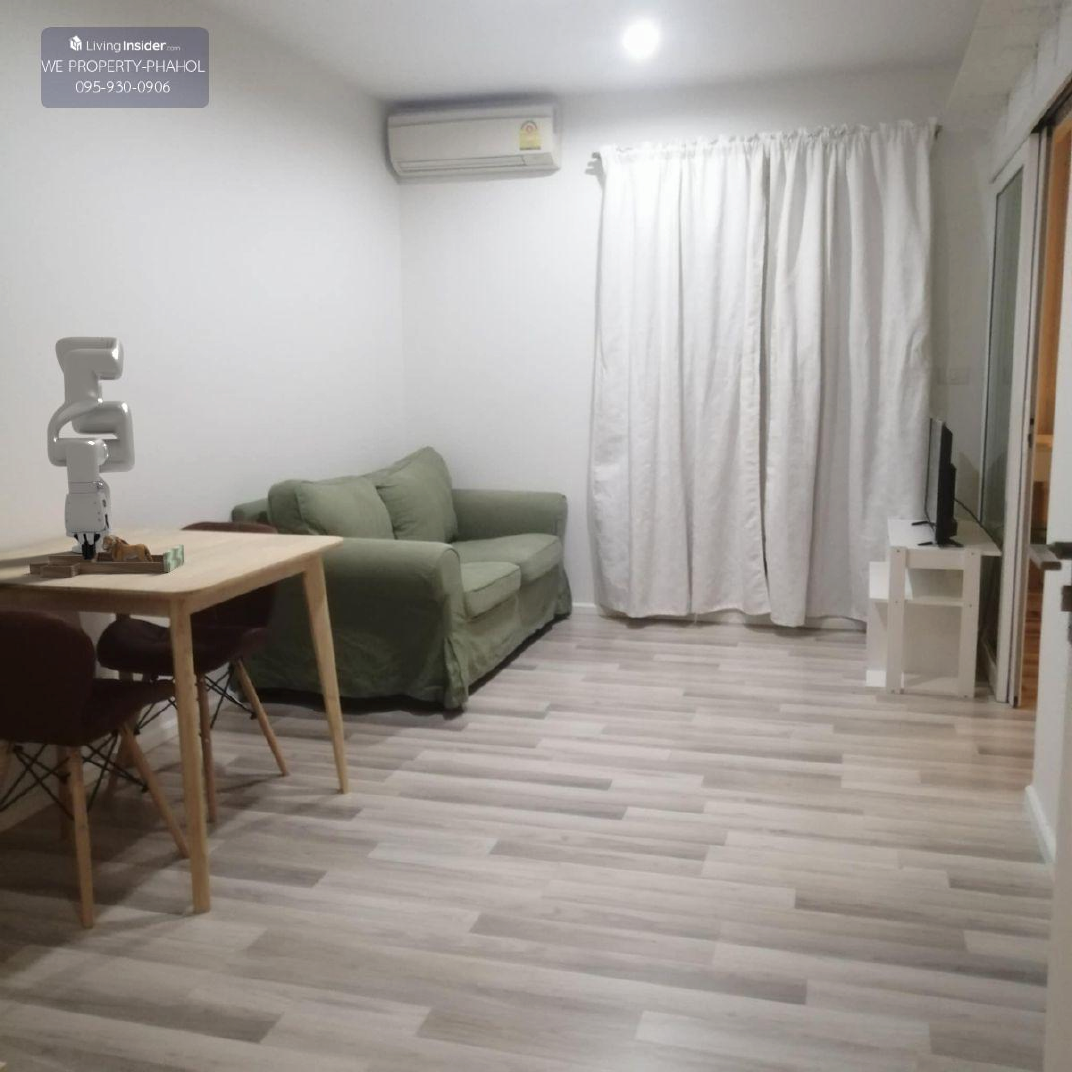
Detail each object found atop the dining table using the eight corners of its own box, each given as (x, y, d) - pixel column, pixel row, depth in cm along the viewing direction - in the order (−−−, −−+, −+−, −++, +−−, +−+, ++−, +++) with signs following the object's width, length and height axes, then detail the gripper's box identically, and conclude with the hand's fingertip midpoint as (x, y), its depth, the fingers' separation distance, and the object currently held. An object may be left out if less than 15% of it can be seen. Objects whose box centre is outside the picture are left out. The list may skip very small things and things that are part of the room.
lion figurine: (99, 571, 266) (97, 536, 264) (109, 567, 271) (106, 533, 270) (156, 571, 265) (153, 536, 264) (164, 567, 270) (162, 533, 269)
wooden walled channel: (59, 561, 279) (58, 542, 279) (189, 560, 280) (188, 542, 279) (20, 577, 258) (19, 557, 257) (162, 576, 258) (160, 556, 257)
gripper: (119, 486, 269) (124, 556, 272) (61, 487, 269) (66, 556, 272) (108, 490, 262) (113, 561, 265) (48, 490, 262) (54, 561, 264)
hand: (89, 558), depth 268 cm, fingers closed
